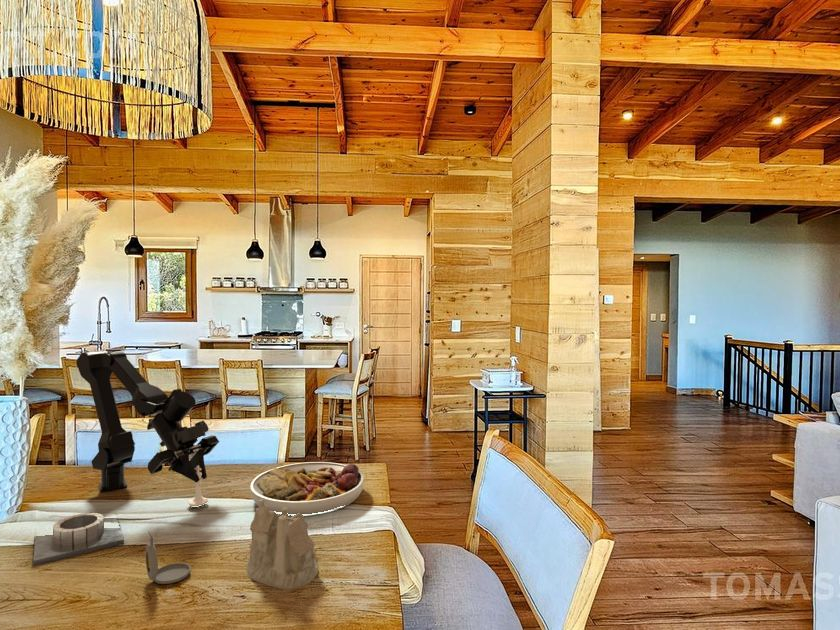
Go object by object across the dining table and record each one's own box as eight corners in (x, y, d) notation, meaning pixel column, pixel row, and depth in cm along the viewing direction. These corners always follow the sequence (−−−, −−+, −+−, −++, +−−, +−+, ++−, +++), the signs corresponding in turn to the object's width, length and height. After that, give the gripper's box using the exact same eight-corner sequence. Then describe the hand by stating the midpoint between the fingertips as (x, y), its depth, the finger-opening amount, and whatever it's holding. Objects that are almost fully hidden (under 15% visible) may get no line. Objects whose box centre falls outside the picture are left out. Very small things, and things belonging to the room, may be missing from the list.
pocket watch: (197, 571, 103) (197, 521, 103) (164, 594, 95) (163, 541, 95) (165, 563, 106) (165, 515, 105) (130, 585, 98) (129, 533, 97)
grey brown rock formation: (286, 596, 94) (288, 513, 95) (230, 571, 104) (232, 496, 104) (344, 565, 107) (346, 492, 108) (290, 545, 117) (292, 478, 117)
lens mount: (35, 535, 118) (35, 517, 117) (117, 517, 127) (116, 501, 127) (33, 565, 104) (32, 546, 104) (124, 543, 114) (123, 526, 114)
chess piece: (200, 508, 131) (200, 469, 131) (183, 506, 132) (183, 468, 132) (212, 501, 136) (212, 463, 135) (195, 499, 137) (195, 462, 136)
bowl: (257, 531, 121) (257, 498, 121) (245, 486, 148) (244, 459, 148) (378, 510, 133) (378, 480, 133) (346, 472, 160) (346, 447, 160)
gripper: (155, 421, 126) (188, 472, 122) (214, 406, 143) (245, 451, 139) (133, 448, 129) (164, 499, 125) (193, 430, 146) (222, 475, 143)
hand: (201, 479), depth 133 cm, fingers closed on chess piece
